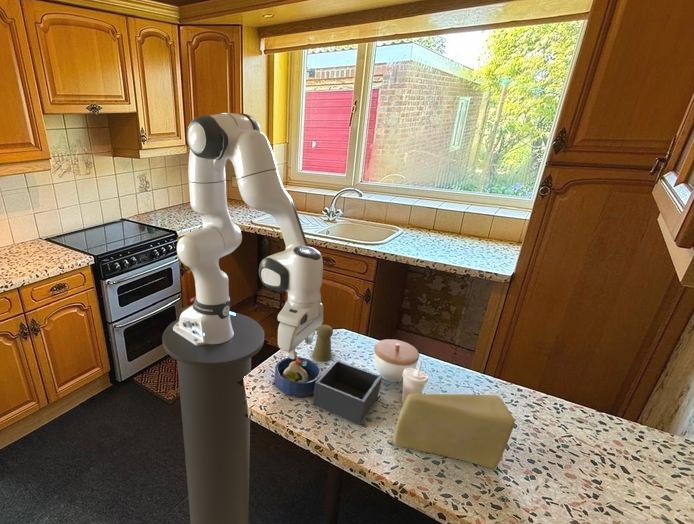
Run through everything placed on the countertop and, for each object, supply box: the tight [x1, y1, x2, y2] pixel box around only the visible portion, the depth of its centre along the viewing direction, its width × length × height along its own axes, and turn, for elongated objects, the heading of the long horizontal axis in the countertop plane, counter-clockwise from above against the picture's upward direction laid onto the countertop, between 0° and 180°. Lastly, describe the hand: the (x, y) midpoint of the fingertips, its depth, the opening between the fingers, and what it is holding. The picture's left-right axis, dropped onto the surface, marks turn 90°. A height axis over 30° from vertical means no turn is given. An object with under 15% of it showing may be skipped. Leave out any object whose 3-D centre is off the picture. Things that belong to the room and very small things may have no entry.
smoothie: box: [401, 360, 429, 405], centre depth 108 cm, size 6×6×14 cm
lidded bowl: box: [373, 338, 420, 383], centre depth 120 cm, size 13×13×11 cm
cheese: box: [392, 393, 516, 470], centre depth 93 cm, size 22×10×15 cm, turn 80°
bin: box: [312, 359, 383, 426], centre depth 110 cm, size 14×14×8 cm
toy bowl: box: [274, 356, 322, 398], centre depth 118 cm, size 13×13×5 cm
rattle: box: [283, 356, 308, 382], centre depth 116 cm, size 8×8×12 cm
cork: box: [312, 324, 334, 362], centre depth 130 cm, size 6×6×11 cm
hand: (300, 350), depth 114 cm, fingers open, 8 cm apart
